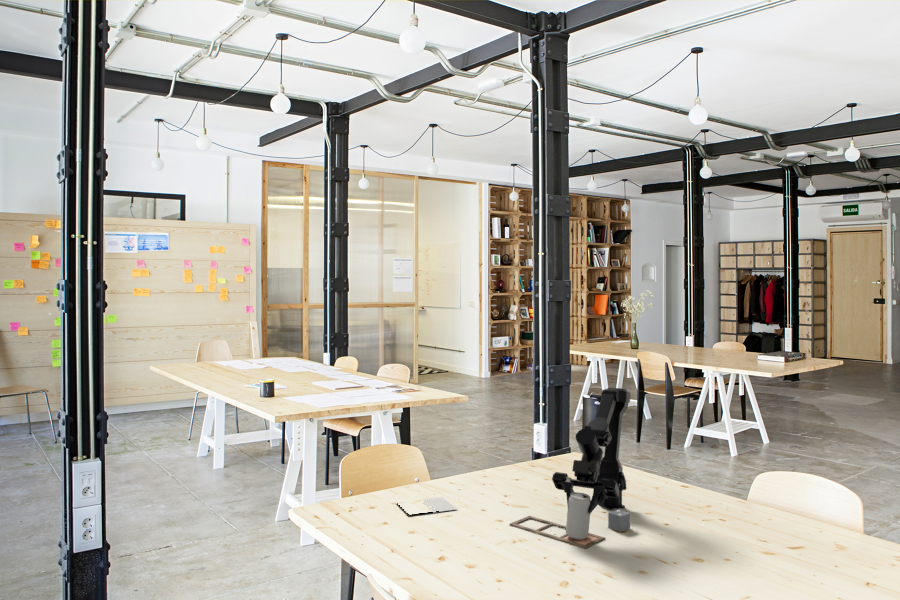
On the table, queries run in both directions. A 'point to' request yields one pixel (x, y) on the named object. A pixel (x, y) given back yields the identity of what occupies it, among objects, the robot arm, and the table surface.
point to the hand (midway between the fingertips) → (578, 511)
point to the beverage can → (578, 516)
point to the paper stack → (438, 504)
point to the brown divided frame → (584, 543)
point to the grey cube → (619, 520)
